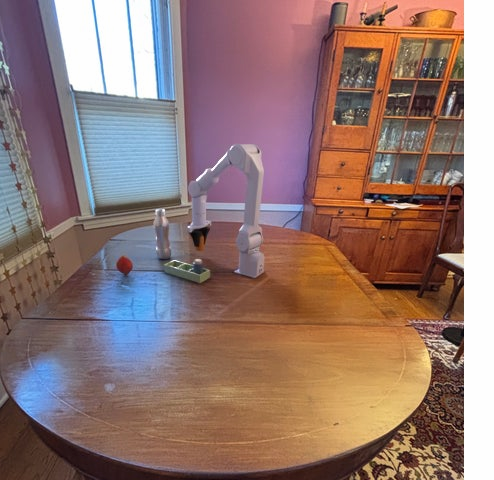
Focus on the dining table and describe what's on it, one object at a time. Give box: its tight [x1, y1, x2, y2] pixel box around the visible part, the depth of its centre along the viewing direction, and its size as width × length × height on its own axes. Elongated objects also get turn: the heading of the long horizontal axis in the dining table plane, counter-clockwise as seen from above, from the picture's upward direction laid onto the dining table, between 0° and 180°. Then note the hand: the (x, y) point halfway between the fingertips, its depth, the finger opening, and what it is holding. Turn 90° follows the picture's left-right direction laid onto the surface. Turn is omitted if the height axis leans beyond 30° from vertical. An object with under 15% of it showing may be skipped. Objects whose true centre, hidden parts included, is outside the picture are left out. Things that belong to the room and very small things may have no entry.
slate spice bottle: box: [192, 258, 204, 275], centre depth 109 cm, size 4×4×7 cm
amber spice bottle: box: [195, 233, 205, 252], centre depth 128 cm, size 4×4×7 cm
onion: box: [115, 254, 134, 276], centre depth 111 cm, size 6×6×8 cm
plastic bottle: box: [153, 208, 172, 260], centre depth 124 cm, size 6×7×20 cm
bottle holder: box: [163, 259, 211, 284], centre depth 112 cm, size 17×6×4 cm, turn 57°
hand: (199, 245), depth 129 cm, fingers closed on amber spice bottle, 3 cm apart
